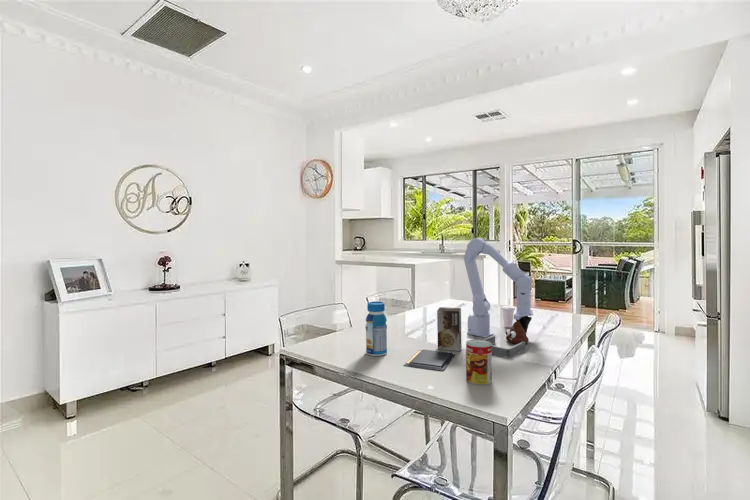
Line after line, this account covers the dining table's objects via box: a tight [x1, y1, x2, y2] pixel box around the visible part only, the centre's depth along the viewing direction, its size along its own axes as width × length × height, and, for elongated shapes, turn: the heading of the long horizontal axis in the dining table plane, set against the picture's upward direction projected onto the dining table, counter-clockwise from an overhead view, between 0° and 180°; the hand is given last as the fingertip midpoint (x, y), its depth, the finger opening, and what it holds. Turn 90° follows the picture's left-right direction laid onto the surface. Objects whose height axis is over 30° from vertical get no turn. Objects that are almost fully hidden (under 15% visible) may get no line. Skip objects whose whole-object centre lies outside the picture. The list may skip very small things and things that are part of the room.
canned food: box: [465, 339, 493, 386], centre depth 121 cm, size 8×8×12 cm
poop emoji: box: [505, 320, 530, 346], centre depth 163 cm, size 10×8×9 cm
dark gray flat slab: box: [403, 349, 456, 372], centre depth 141 cm, size 20×2×15 cm
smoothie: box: [500, 297, 516, 328], centre depth 189 cm, size 6×6×14 cm
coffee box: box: [436, 306, 463, 352], centre depth 155 cm, size 9×6×16 cm
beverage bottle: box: [365, 300, 388, 357], centre depth 150 cm, size 8×8×20 cm
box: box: [482, 335, 526, 359], centre depth 153 cm, size 14×14×3 cm
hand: (523, 333), depth 167 cm, fingers closed
